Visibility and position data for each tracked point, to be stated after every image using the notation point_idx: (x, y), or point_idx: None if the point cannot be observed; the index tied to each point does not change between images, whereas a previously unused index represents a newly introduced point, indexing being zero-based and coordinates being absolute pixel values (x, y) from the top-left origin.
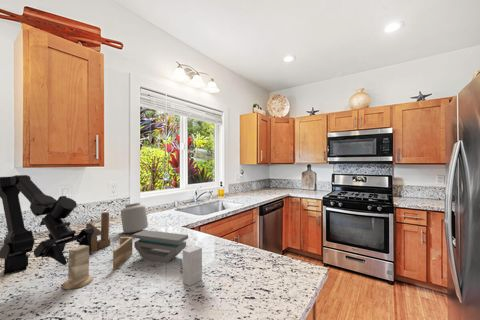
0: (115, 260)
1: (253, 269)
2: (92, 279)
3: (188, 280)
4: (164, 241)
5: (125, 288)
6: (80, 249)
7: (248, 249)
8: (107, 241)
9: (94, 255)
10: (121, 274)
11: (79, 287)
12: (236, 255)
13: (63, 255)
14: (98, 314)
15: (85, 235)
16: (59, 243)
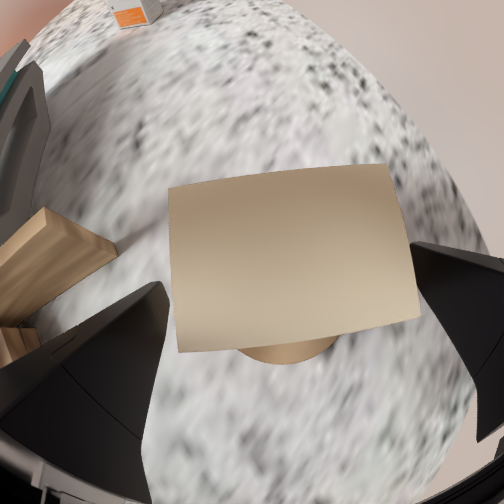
0: (85, 231)
1: (88, 10)
2: None
3: (159, 4)
4: (2, 85)
5: (223, 79)
6: (319, 168)
7: None
8: None
9: None
10: (140, 177)
11: None
12: (30, 59)
13: (467, 257)
14: (346, 53)
15: (22, 476)
16: (497, 477)
